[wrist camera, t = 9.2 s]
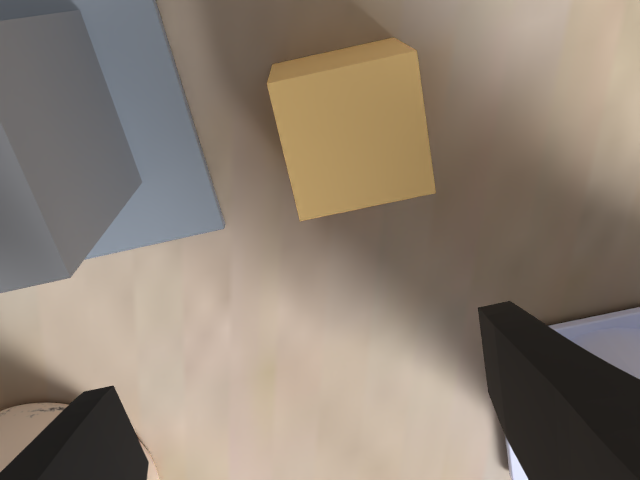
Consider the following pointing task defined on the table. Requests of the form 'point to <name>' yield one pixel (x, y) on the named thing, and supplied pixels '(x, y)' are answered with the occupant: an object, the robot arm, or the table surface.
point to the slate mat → (144, 122)
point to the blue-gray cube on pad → (56, 150)
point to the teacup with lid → (36, 430)
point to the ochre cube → (352, 127)
